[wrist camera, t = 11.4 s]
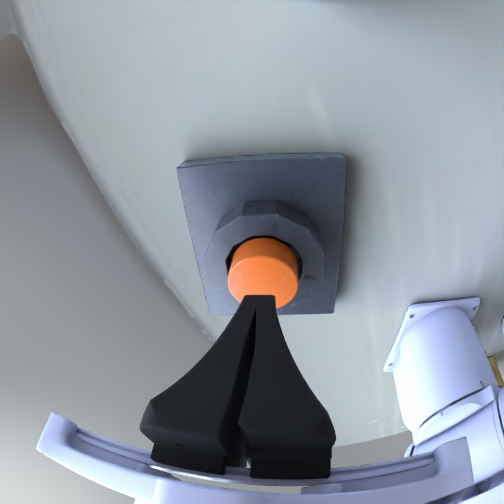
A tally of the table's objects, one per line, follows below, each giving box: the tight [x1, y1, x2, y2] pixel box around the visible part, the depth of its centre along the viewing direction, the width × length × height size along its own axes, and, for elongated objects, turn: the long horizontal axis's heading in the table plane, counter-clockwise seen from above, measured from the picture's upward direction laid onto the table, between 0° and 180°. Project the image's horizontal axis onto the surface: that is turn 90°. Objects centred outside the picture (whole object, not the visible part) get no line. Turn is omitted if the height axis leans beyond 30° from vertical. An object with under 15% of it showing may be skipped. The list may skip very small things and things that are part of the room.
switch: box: [227, 238, 298, 308], centre depth 15 cm, size 4×4×2 cm
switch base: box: [177, 153, 346, 315], centre depth 17 cm, size 11×9×3 cm
